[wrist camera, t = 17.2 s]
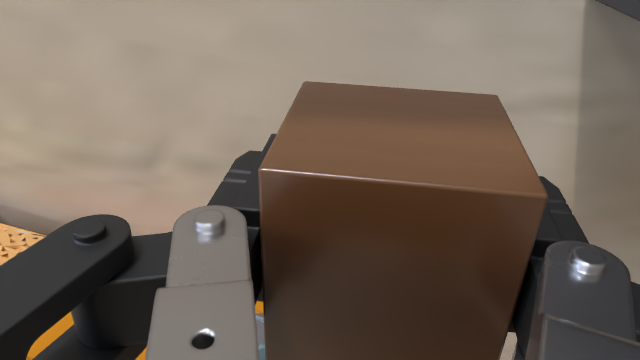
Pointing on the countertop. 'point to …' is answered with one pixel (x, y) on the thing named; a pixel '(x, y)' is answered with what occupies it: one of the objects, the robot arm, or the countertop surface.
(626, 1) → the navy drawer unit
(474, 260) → the block
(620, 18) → the countertop surface
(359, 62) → the countertop surface
